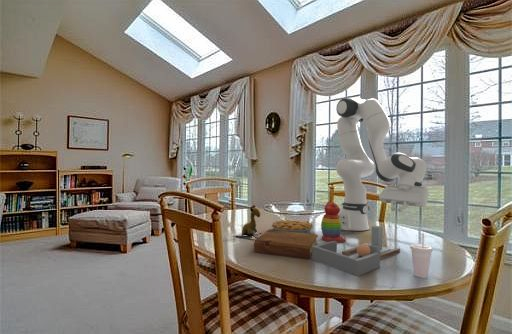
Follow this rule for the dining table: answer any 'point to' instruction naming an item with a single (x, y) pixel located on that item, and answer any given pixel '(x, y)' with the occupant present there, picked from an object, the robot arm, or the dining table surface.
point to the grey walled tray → (344, 259)
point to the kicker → (377, 241)
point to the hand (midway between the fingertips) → (396, 210)
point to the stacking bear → (331, 224)
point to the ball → (363, 250)
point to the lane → (382, 255)
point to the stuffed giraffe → (251, 224)
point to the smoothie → (421, 258)
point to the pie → (292, 226)
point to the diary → (286, 244)
